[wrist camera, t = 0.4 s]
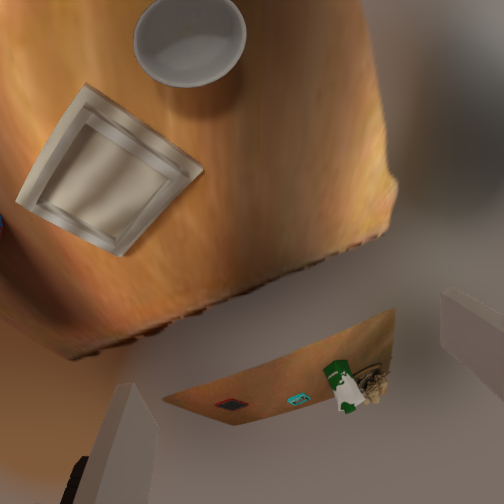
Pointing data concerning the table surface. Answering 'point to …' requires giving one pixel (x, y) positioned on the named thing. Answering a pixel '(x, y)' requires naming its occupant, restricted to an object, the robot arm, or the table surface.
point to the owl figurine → (371, 383)
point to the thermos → (1, 227)
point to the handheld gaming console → (298, 398)
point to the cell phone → (231, 404)
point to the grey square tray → (105, 174)
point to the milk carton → (343, 386)
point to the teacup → (189, 41)
